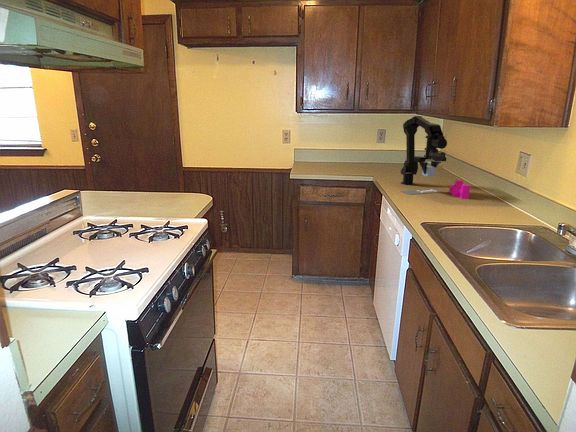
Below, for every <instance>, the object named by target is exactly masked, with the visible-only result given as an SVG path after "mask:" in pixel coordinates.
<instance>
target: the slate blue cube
mask: <svg viewBox="0 0 576 432" xmlns="http://www.w3.org/2000/svg"><path fill="white" fill-rule="evenodd" d="M436 168H437V167H432V166H431V165H427V168H426V174H424V173H423V170H422V173H421V175H422V176H425V177H435V176H436Z"/></svg>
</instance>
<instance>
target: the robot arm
mask: <svg viewBox="0 0 576 432" xmlns="http://www.w3.org/2000/svg"><path fill="white" fill-rule="evenodd" d="M419 127H421V128H422V129H424V132H425V133H426V136H425V137H424V138H425V139H426V147H425V148H424V151H425V154H424V155H423V156H422V155H421V156H420V155H419V156H418V155H416V156H415V153H416V152H415V149H416V148H415V146H416V145H415V144H416V142H415V141H416V140H415V139H416V138H415V137H416V136H415V135H416V134H417V131H418V129H419ZM402 129H403V132H404V134H405V136H406V138H405V139H406V158H405V161H404V163H403V167H402V168H401V169H400V175H402V176H403V177H402V181H401V182H400V184H403V185H405V186H406V185H408V186H409V185H415V182H414V175H417V173H418V170H419V164H420V167H421V169H422V171H423V173H424V174H426V168H427V166H428V164H429V161H430V166H432V167H436V168H437V167H438V165H439V164H441V163H442V162H447V157H446V152H445V151H443V152H442V151H441V152H439V149H441V150H443V149H445V148H446V147H447V146H448V142H447V141H448V140H447V139H446V138H445V135H444V132H443V130H442V127H441V125H440V124H438V123H433V122H430V121H429V120H427V119H425V118H423V116H421V115H414V116H413V117H411V118H409V119H408V120H407V119H406V120H405V122H403V124H402Z"/></svg>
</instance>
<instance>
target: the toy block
mask: <svg viewBox="0 0 576 432" xmlns="http://www.w3.org/2000/svg"><path fill="white" fill-rule="evenodd" d="M470 190H471V185H470V184H464V180H463V179H461V180H459V179H455V180H454V184H450V185H449V190H448V191H449V194H451V195H452V196H453V197H459V198H460V199H463V200H464V199H467V200H469V198H470V197H469V196H470Z"/></svg>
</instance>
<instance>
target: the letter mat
mask: <svg viewBox="0 0 576 432" xmlns="http://www.w3.org/2000/svg"><path fill="white" fill-rule="evenodd" d="M400 192H401V193H404V194H407V195H422V194H424V195H425V194H433V193H437V194H438V193H443V191H442V190H439V189H436V188H426V189H425V188H422V189H407V190H400Z"/></svg>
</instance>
